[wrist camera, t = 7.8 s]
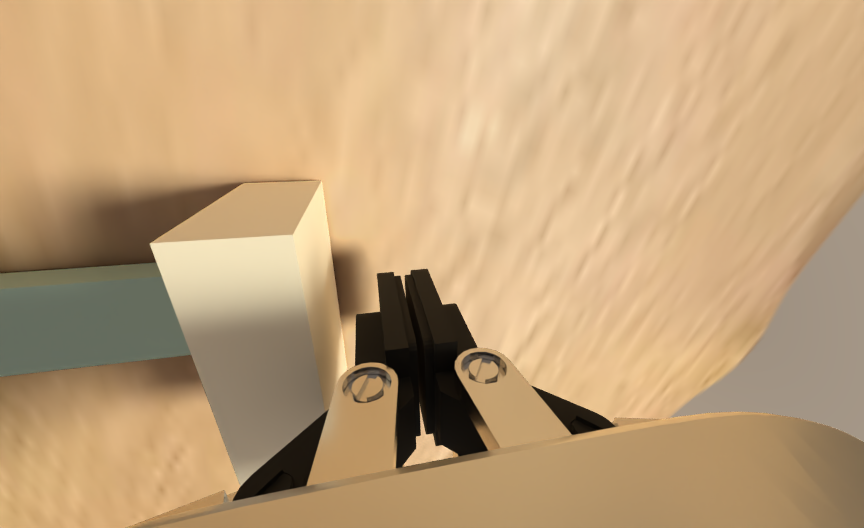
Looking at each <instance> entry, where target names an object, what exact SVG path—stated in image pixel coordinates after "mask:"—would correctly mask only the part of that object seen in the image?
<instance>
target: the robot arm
mask: <svg viewBox="0 0 864 528" xmlns="http://www.w3.org/2000/svg"><path fill="white" fill-rule="evenodd" d="M377 279H378V290H379V302H380V312H374V313H365V314H357V315H356V349H355V366H354V367H352V368H350V369H349V370H347V371H346V372H345V373H344V374H343V375H342V376H341V377H340V378H339V380H338V382H337V384H336V386H335V390H334V393H333V396H332V400H331V403H330V407H329V409H328V410H327V411H326V412H324V413H323V414H322V415H321V416H320V417H319V418H317V419H316V420H315V421H314V422H313V423H312V424H310V425H309V426H308V427H307V428H306V429H305V430H303V431H302V432H301V433H300V434H299V435H298V436H296V437H295V438H294V439H293V440H292V441H291V442H289V443H288V444H287V445H286V446H285V447H284V448H282V449H281V450H280V451H279V452H278V453H277V454H275V455H274V456H273V457H272V458H271V459H270V460H268V461H267V462H266V463H265V464H264V465H263V466H261V467H260V468H259V469H258V470H257V471H256V472H254V473H253V474H252V475H251V476H250V477H249V478H248V479H247V480H246V481H245V482H244V483H243V484H242V485H241V487H240V488H239V490H238V491H237V492H234V493H232V494H229V495H226V493H225V490H223V491H221V492H218V493H216V494H213V495H210V496H208V497H205V498H203V499H200V500H197V501H195V502H192V503H190V504H187V505H184V506H182V507H179V508H177V509H174V510H171V511H169V512H166V513H164V514H161V515H158V516H156V517H153V518H151V519H148V520H145V521H143V522H140V523H138V524H135V525H132V526H129V527H126V528H864V442H863V441H861V440H859V439H857V438H856V437H854V436H852V435H850V434H848V433H845V432H843V431H841V430H838V429H836V428H832V427H830V426H827V425H823V424H820V423H817V422H813V421H808V420H804V419H800V418H794V417H788V416H781V415H774V414H768V413H755V412H719V413H705V414H697V415H690V416H681V417H673V418H667V419H640V418H614V421H613V423H611V422H610V421H609V420H607V419H606V418H604V417H603V416H601V415H599V414H597V413H595V412H593V411H590V410H588V409H586V408H583V407H581V406H578V405H576V404H574V403H571V402H569V401H567V400H564V399H562V398H559V397H557V396H555V395H552V394H550V393H548V392H545V391H543V390H540V389H538V388H536V387H533V386H531V385H530V384H529V383H528V382H527V380H526V379H525V378H524V377H523V376H522V374H521V373H520V372H519V371H518V370H517V368H516V367H515V366H514V365H513V364H512V362H511V361H510V360H509V359H508V358H507V357H506V356H505V355H503V354H502V353H500V352H498V351H496V350H492V349H488V348H478V347H477V345H476V343H475V341H474V339H473V337H472V335H471V333H470V331H469V329H468V327H467V325H466V323H465V321H464V319H463V317H462V315H461V313H460V311H459V309H458V307H457V305H456V304H446V305H442V303H441V300H440V298H439V295H438V293H437V291H436V288H435V286H434V284H433V281H432V279H431V276H430V274H429V272H428V269H421V270H411V275H405V290H406V297H405V293H404V289H403V285H402V281H401V277H400V276H394V272H389V273H378V274H377ZM419 402H420V404H419ZM420 407H421V412H422V417H423V422H424V427H425V432H426V434H432V433H433V436H434V440H435V445H436V446H439V445H443V446H445V447H447V448H448V449H450V450H452V451H453V458H448V459H443V460H437V461H432V462H427V463H422V464H417V465H411V466H406V467H404V463H405V462H406V460H407V459H408V458H409V457H410V455H411V454H412V453H413V452H414V450H415V449H416V436H420V435H421V432H420Z"/></svg>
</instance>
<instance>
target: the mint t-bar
mask: <svg viewBox="0 0 864 528" xmlns="http://www.w3.org/2000/svg"><path fill="white" fill-rule="evenodd" d="M150 246H151V249H152V251H153V254H154V257H155V259H156V262H157V263H142V264H128V265H114V266H100V267H85V268H71V269H57V270H43V271H28V272H14V273H0V377H2V376H11V375H20V374H28V373H37V372H46V371H55V370H63V369H72V368H81V367H90V366H98V365H107V364H116V363H125V362H134V361H142V360H151V359H160V358H169V357H177V356H186V355H191V356H192V358H193V361H194V364H195V366H196V369H197V372H198V374H199V377H200V380H201V382H202V385H203V388H204V390H205V393H206V396H207V398H208V401H209V404H210V406H211V409H212V412H213V414H214V417H215V420H216V422H217V425H218V428H219V430H220V433H221V436H222V439H223V441H224V444H225V447H226V449H227V452H228V455H229V457H230V460H231V463H232V465H233V468H234V471H235V473H236V476H237V479H238V481H239V484H240V487H241V485H242V484H243V483H244V482H245V481H246V480H247V479H248V478H249V477H250V476H251V475H252V474H253V473H254V472H256V471H257V470H258V469H259V468H260V467H261V466H263V465H264V464H265V463H266V462H267V461H268V460H270V459H271V458H272V457H273V456H274V455H275V454H277V453H278V452H279V451H280V450H281V449H282V448H284V447H285V446H286V445H287V444H288V443H289V442H291V441H292V440H293V439H294V438H295V437H296V436H298V435H299V434H300V433H301V432H302V431H303V430H305V429H306V428H307V427H308V426H309V425H310V424H312V423H313V422H314V421H315V420H316V419H317V418H319V417H320V416H321V415H322V414H323V413H324V412H326V411H327V410H328V409H329V407H330V403H331V400H332V396H333V393H334V390H335V386H336V384H337V382H338V380H339V378H340V377H341V376H342V375H343V374H344V373H345V372H346V371H347V364H346V356H345V349H344V341H343V334H342V326H341V319H340V312H339V304H338V297H337V289H336V282H335V275H334V267H333V260H332V252H331V245H330V237H329V230H328V223H327V215H326V208H325V200H324V193H323V185H322V180H317V181H289V182H260V183H243V184H241V185H240V186H238V187H237V188H235V189H234V190H232V191H231V192H229V193H227V194H226V195H224V196H223V197H221V198H220V199H218V200H216V201H215V202H213V203H212V204H210V205H209V206H207V207H206V208H204V209H202V210H201V211H199V212H198V213H196V214H195V215H193V216H192V217H190V218H188V219H187V220H185V221H184V222H182V223H181V224H179V225H177V226H176V227H174V228H173V229H171V230H170V231H168V232H167V233H165V234H163V235H162V236H160V237H159V238H157V239H156V240H154V241H153V242H151V243H150Z"/></svg>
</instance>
